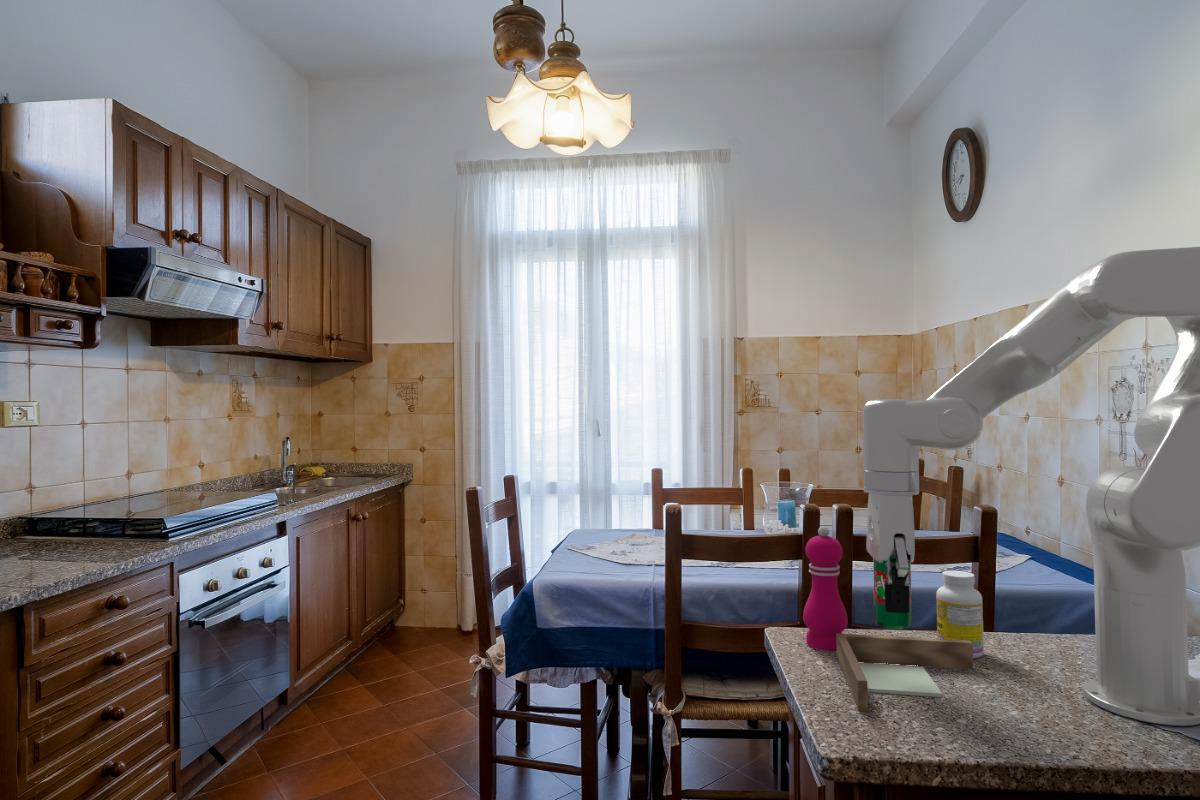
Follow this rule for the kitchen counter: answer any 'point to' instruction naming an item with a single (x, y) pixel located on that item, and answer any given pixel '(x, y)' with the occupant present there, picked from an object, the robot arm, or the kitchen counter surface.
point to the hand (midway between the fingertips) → (892, 605)
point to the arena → (896, 657)
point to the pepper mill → (824, 593)
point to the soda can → (880, 613)
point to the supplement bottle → (960, 610)
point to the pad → (899, 680)
